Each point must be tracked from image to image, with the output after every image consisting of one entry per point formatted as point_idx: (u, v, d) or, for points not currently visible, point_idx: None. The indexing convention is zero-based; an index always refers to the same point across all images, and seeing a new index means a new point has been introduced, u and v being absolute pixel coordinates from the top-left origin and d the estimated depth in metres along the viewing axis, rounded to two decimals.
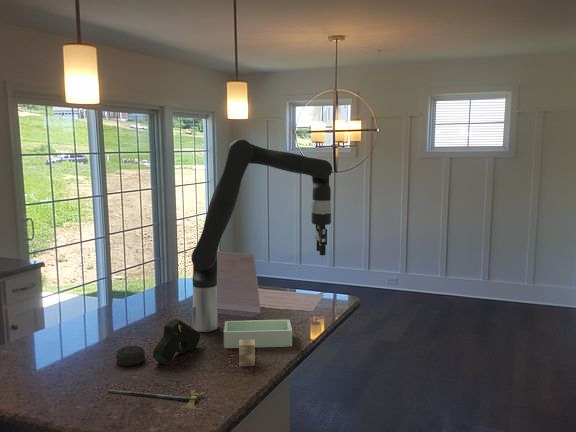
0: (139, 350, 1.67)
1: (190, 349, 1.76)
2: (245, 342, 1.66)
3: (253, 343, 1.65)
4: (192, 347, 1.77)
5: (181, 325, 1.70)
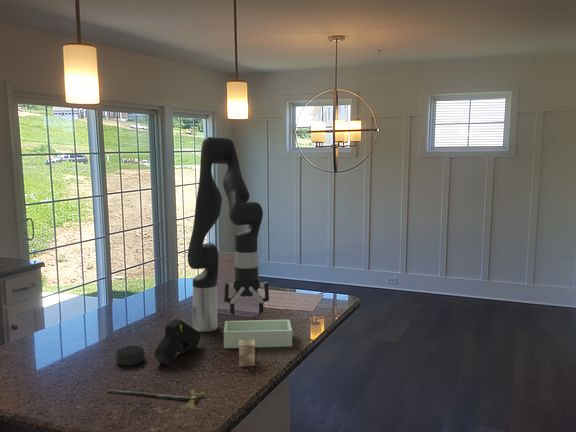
0: (139, 350, 1.67)
1: (191, 349, 1.76)
2: (245, 342, 1.66)
3: (253, 343, 1.65)
4: (193, 347, 1.77)
5: (182, 325, 1.70)
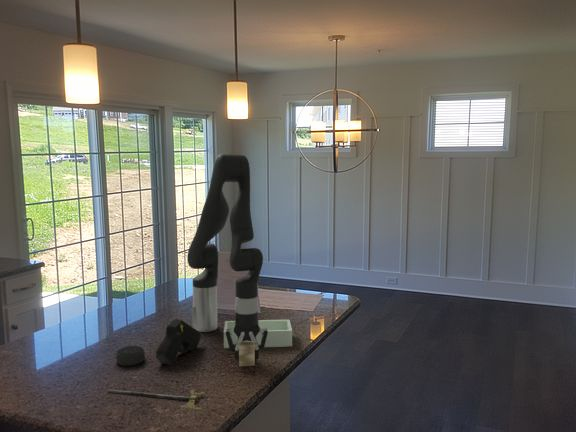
0: (139, 350, 1.67)
1: (191, 349, 1.76)
2: (245, 342, 1.66)
3: None
4: (193, 347, 1.77)
5: (183, 325, 1.71)
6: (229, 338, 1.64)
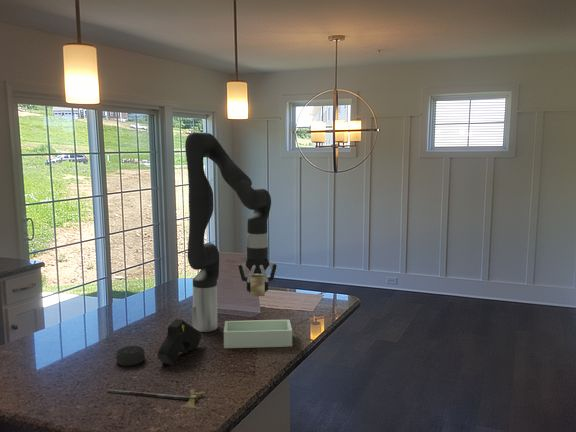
0: (139, 350, 1.67)
1: (192, 349, 1.76)
2: (256, 275, 1.83)
3: (263, 276, 1.82)
4: (194, 347, 1.77)
5: (184, 325, 1.71)
6: (241, 271, 1.81)
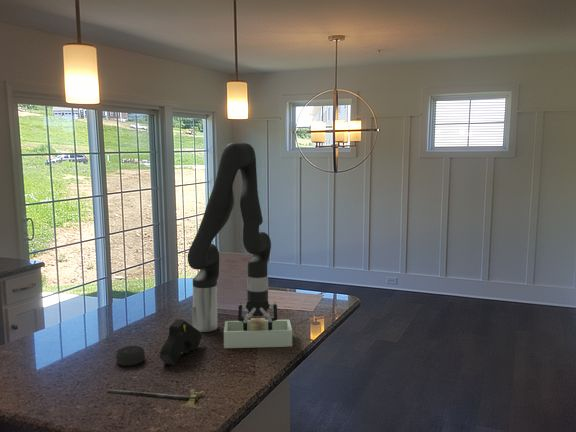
0: (139, 350, 1.67)
1: (193, 349, 1.76)
2: (256, 320, 1.85)
3: (263, 321, 1.84)
4: (195, 347, 1.77)
5: (185, 325, 1.71)
6: (240, 311, 1.83)
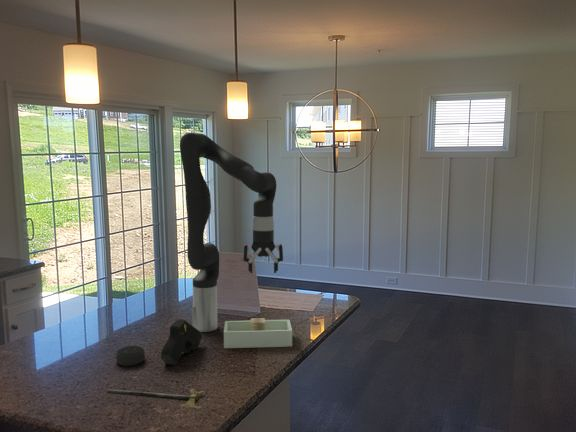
0: (139, 350, 1.67)
1: (193, 348, 1.76)
2: (256, 320, 1.85)
3: (263, 321, 1.84)
4: (195, 346, 1.77)
5: (186, 325, 1.71)
6: (246, 251, 1.83)
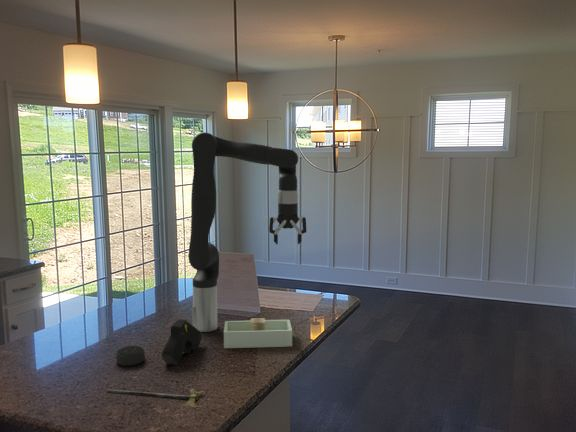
0: (139, 350, 1.67)
1: (194, 348, 1.76)
2: (256, 320, 1.85)
3: (263, 321, 1.84)
4: (195, 346, 1.77)
5: (187, 325, 1.71)
6: (271, 223, 1.95)
